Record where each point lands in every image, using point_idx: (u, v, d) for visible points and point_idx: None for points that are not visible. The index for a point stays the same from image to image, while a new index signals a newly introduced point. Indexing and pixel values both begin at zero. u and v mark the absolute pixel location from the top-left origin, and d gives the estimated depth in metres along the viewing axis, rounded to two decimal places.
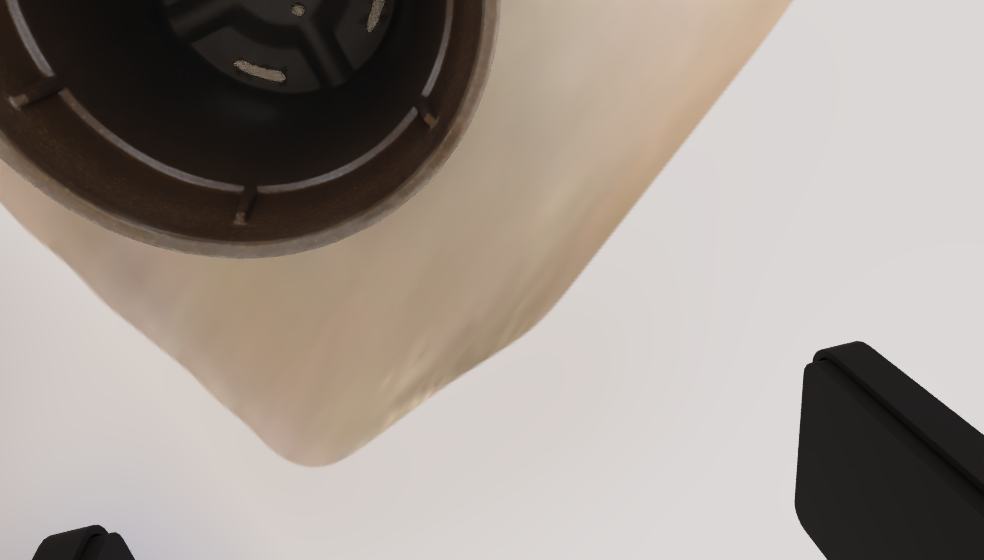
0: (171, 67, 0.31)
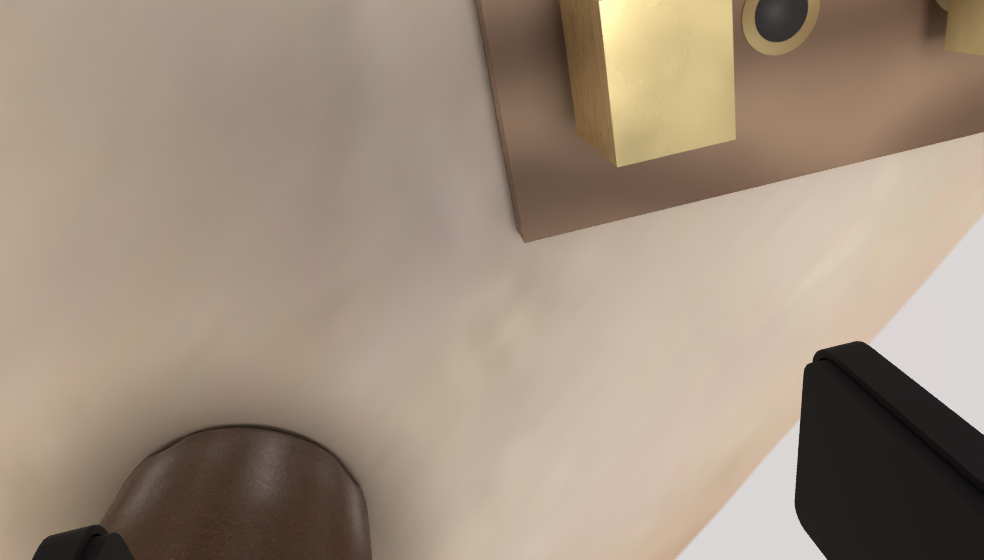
0: None
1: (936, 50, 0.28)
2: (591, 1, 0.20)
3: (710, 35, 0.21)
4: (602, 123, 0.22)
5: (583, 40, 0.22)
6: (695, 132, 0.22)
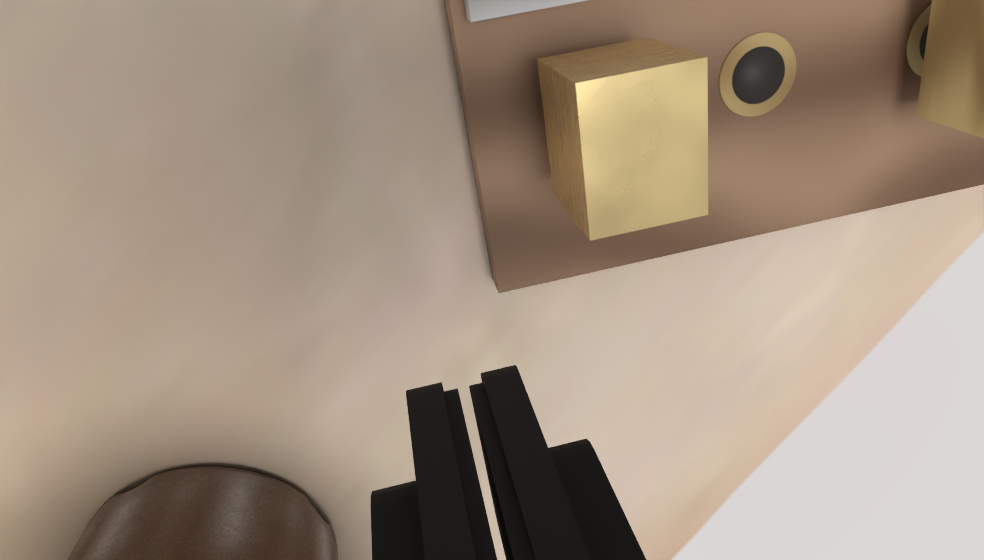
0: None
1: (909, 114, 0.29)
2: (568, 79, 0.20)
3: (685, 116, 0.21)
4: (577, 195, 0.22)
5: (560, 112, 0.22)
6: (668, 208, 0.22)
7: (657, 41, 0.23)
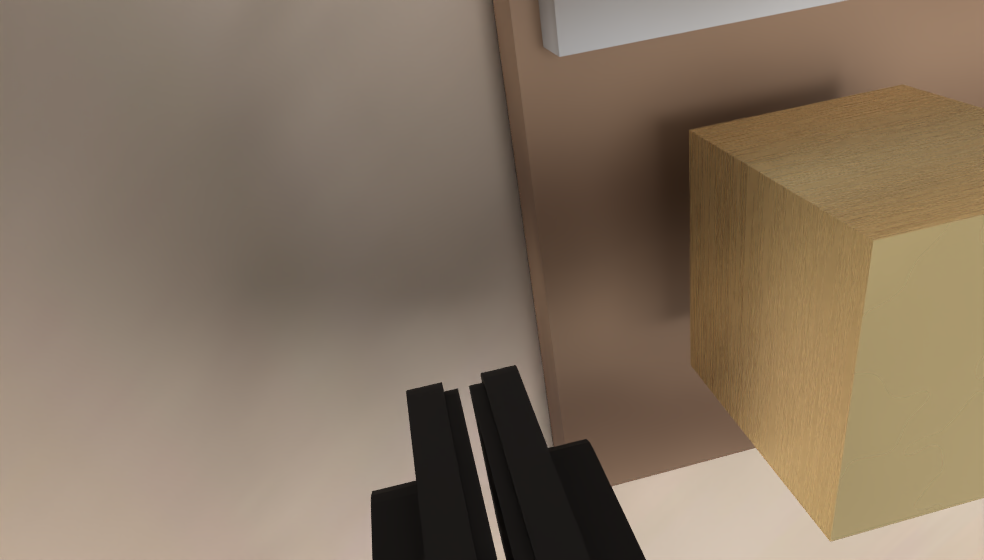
0: None
1: None
2: (830, 218, 0.08)
3: None
4: (796, 435, 0.10)
5: (766, 261, 0.10)
6: None
7: (943, 98, 0.11)
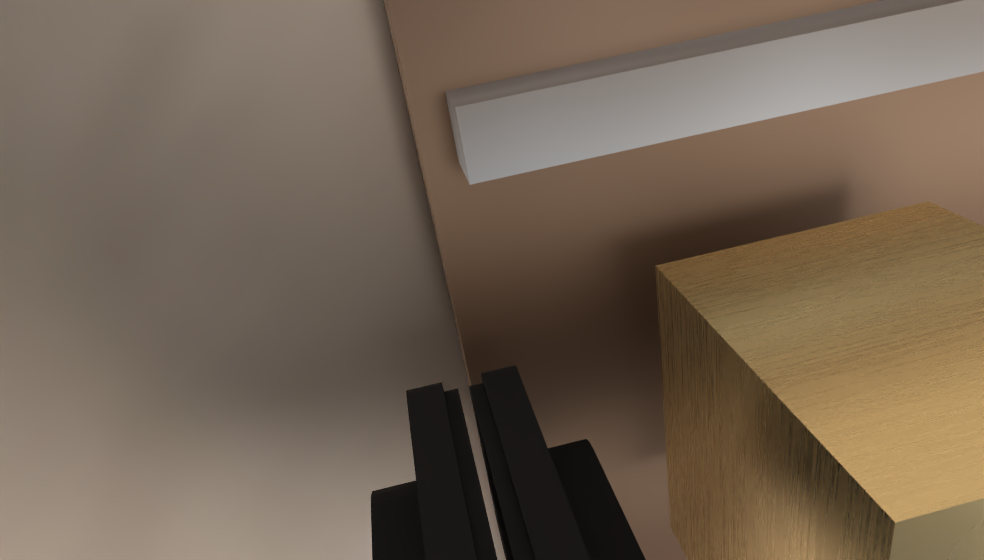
0: None
1: None
2: (832, 459, 0.06)
3: None
4: None
5: (751, 464, 0.08)
6: None
7: (983, 228, 0.09)
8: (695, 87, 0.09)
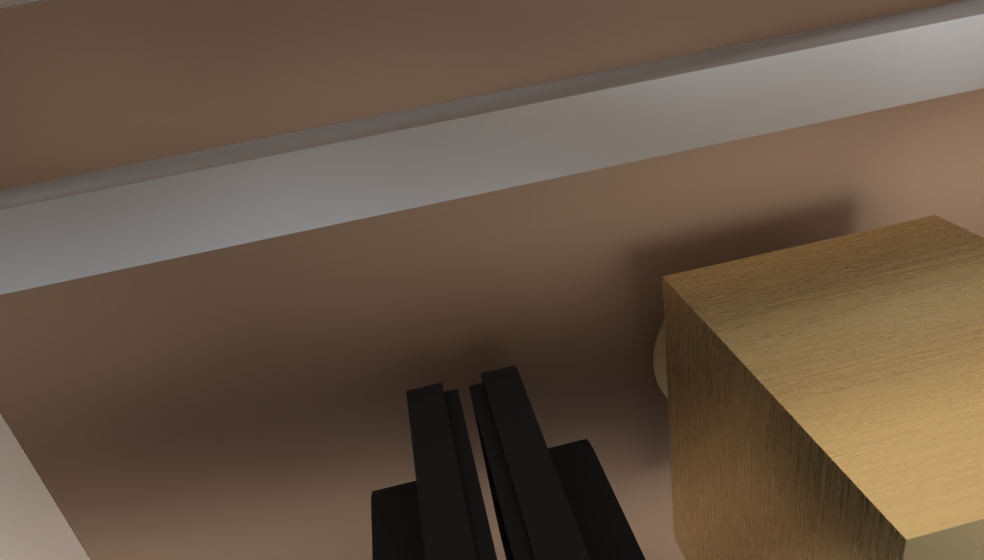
0: None
1: None
2: (842, 475, 0.06)
3: None
4: None
5: (759, 477, 0.08)
6: None
7: None
8: (160, 210, 0.08)
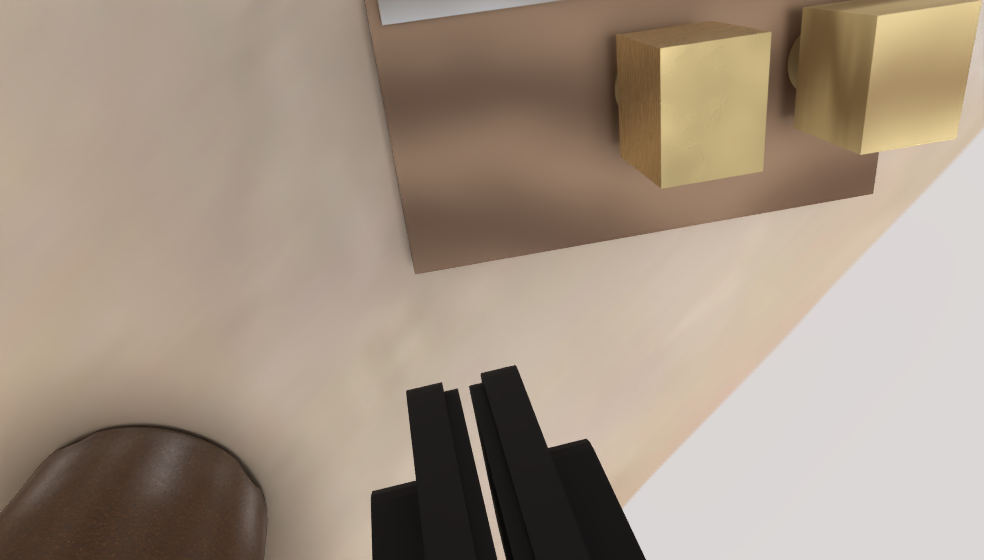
0: None
1: (793, 126, 0.32)
2: (652, 47, 0.24)
3: (749, 82, 0.24)
4: (650, 150, 0.26)
5: (639, 77, 0.26)
6: (729, 163, 0.25)
7: (721, 23, 0.27)
8: None
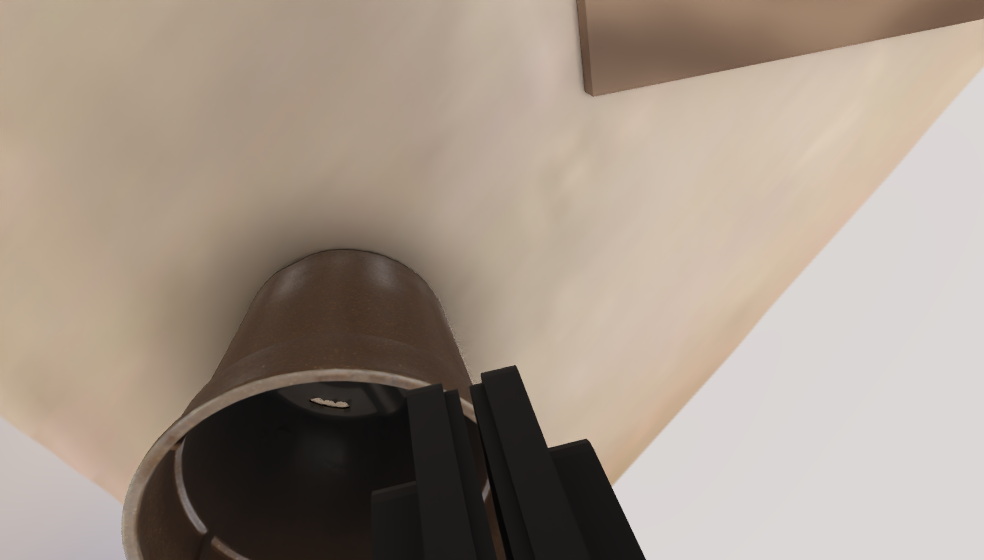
0: (267, 433, 0.40)
1: None
2: None
3: None
4: None
5: None
6: None
7: None
8: None
